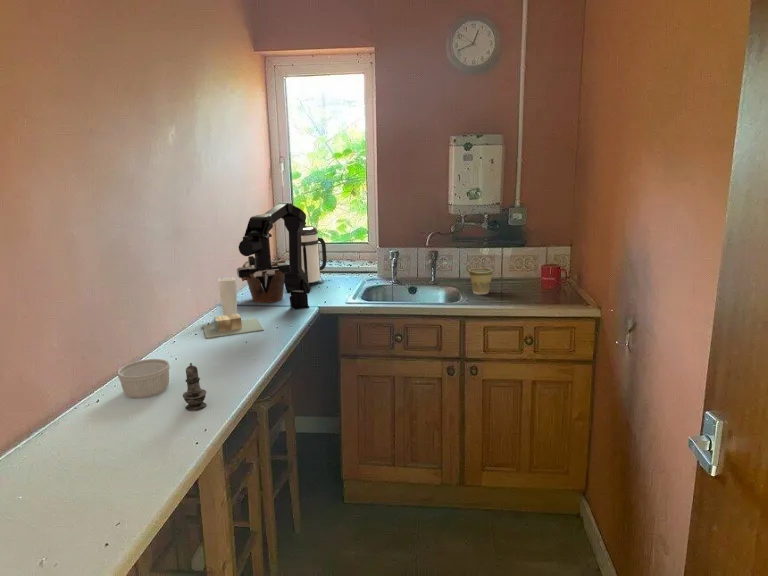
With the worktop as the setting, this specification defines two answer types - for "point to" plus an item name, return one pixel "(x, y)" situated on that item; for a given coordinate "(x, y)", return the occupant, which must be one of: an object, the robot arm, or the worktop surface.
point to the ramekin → (144, 378)
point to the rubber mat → (247, 327)
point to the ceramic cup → (480, 280)
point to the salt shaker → (194, 390)
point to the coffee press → (312, 254)
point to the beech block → (227, 322)
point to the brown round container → (274, 288)
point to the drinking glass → (228, 295)
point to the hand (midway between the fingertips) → (265, 293)
